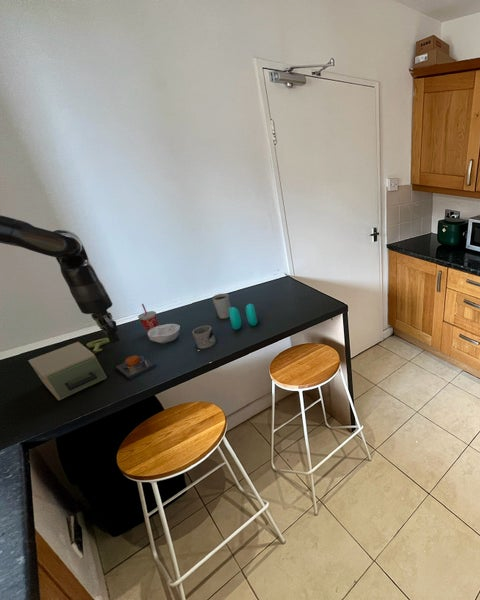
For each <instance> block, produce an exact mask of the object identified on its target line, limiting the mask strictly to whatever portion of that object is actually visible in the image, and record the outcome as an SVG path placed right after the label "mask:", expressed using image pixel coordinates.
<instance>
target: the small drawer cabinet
mask: <svg viewBox="0 0 480 600" xmlns="http://www.w3.org/2000/svg"><path fill="white" fill-rule="evenodd" d="M92 358H94V359H95V360H96V362H97V364H98V366H99V367H100V369H101V371H102V373H103V375H104V376H105V379H102V380H100V381H98V382H96V383H94V384H92V385H89V386H87V387H85V388H83V389H81V390H79V391H77V392H74V393H72V394H70V395H68V396H66V397H64V398H62V399H61V398H60V397H59V396H58V394H57V393H56V391H55V390H54V388H53V386H52V385H51V383H50V382H49V380H48V379H47V376H49V375H52V374H54V373H57V372H59V371H61V370H64V369H66V368H69V367H71V366H73V365H76V364H78V363H81V362H83V361H85V360H88V359H92ZM27 361H28V363H29V364H30V366H31V368H32V369H33V370H34V372H35V373H36V375H37V376H38V377H39V379H40V381H41V382H42V384H43V385H44V386H45V387H46V388H47V390H49V392H50V393H51V395H53V397H55V399H56V400H57V401H61V400H63V399H65V398H68V397H70V396H71V395H74V394H76V393H78V392H80V391H83V390H85V389H86V388H88V387H91V386H94V385H95V384H97V383H100V382H102V381H103V380H104V381H105V380H106V379H108V377H107V375H106V373H105V371H104V369H103V367H102V365H101V364H100V362H99V360H98V359H97V356H96V355H95V353H93V351H91V350H90V349H89V348H88V347H87V346H84V345H83V344H82V343H81V342H80V341H76V342H74V343H73V342H72V343H71V344H68V345H65V346H63V347H60V348H58V349H55V350H52V351H49V352H46V353H44V354H41V355H39V356H36V357H34V358H31V359H28V360H27Z"/></svg>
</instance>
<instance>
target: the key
mask: <svg viewBox="0 0 480 600" xmlns="http://www.w3.org/2000/svg"><path fill="white" fill-rule="evenodd" d="M108 343H111V342H110V341H109V339H108V337H104V338H100V339H96V340H92V341H90V342H88V343H86V347H87V348H93V349H92V353H93V354H97V353H99V352H102V351H103V348H101V347H102V346H103V345H107V344H108Z"/></svg>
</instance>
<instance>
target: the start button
mask: <svg viewBox="0 0 480 600" xmlns="http://www.w3.org/2000/svg"><path fill="white" fill-rule="evenodd" d="M138 356H139V355H131V356H129V357H127V358H126V359H125V361H126V363H127V365H129V366H130V365H134V364H136V363H138V362H139V361H140V360H139V358H138ZM125 361H124V362H125Z"/></svg>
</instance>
